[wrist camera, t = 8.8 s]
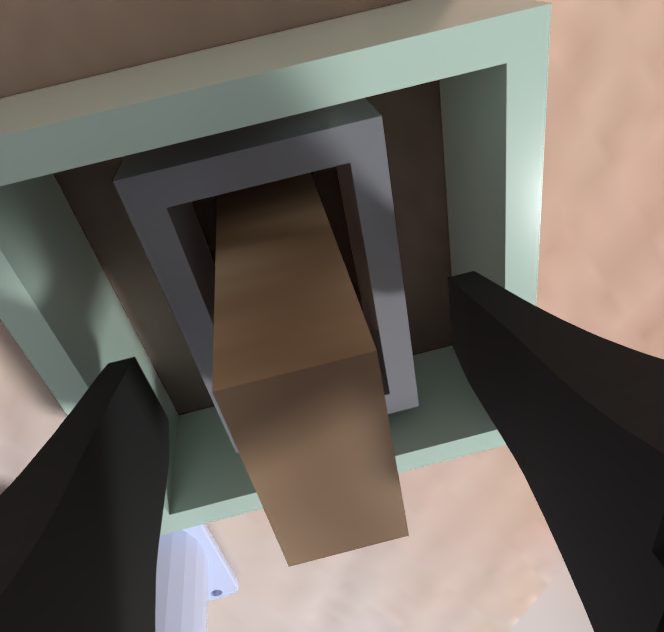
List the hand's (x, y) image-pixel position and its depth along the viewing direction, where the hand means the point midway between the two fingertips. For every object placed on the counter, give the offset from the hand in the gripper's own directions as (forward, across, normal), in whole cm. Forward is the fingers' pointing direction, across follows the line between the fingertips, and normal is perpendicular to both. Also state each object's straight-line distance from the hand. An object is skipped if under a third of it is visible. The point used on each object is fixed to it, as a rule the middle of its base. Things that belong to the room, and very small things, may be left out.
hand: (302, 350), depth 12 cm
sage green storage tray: (+4, 0, 0) cm, 4 cm away
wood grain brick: (+4, 0, 0) cm, 4 cm away
